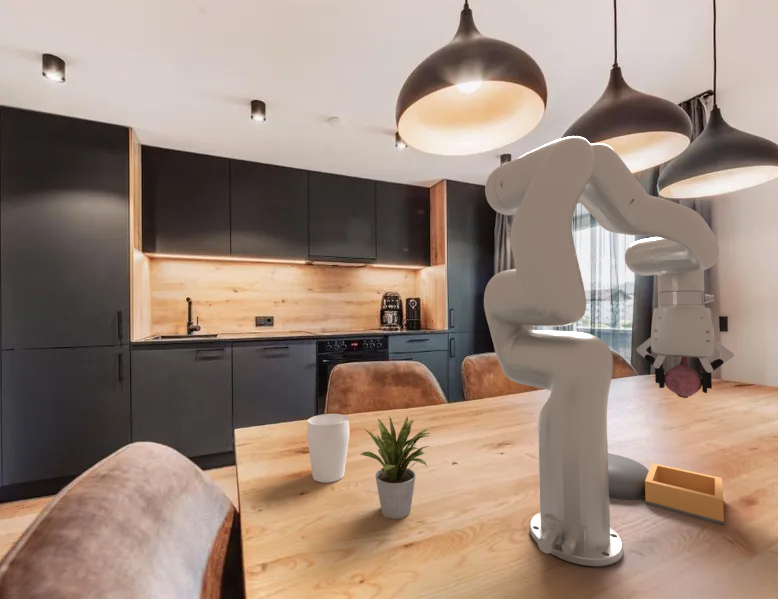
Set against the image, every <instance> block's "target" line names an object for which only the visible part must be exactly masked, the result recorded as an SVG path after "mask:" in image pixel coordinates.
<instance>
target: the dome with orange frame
mask: <svg viewBox="0 0 778 599" xmlns="http://www.w3.org/2000/svg"><path fill="white" fill-rule="evenodd" d="M608 475H609V498H612V497H613V499H618V498H619V500H620V499H621V500H638V498H639V499H643V498H645V504H647V505H649V506H654V507H657V508H661V509H664V510H668V511H672V512H675V513H678V514H682V515H686V516H690V517H693V518H696V519H697V518H698V519H701V520H704V521H708V522H711V523H715V524H719V525H722V526H725V517H724V516H725V513H724V512H725V511H724V494H723V493H724V491H723V477H720V476H716V475H710V474H706V473H700V472H697V471H691V470H687V469H683V468H678V467H674V466H673V467H672V466H668V465H663V464H659V463H654V462H651V465H650V467H649V469H648V468H647V467H646V466H645V465H644V464H642V463H640V462H638V461H636V460H633V459H631V458H629V457H625V456H622V455H619V454H613V453H609V452H608Z"/></svg>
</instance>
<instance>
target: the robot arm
mask: <svg viewBox="0 0 778 599" xmlns="http://www.w3.org/2000/svg"><path fill="white" fill-rule="evenodd" d="M484 186H485V187H484V192H485V197H486V201H487V203H488V204H489V206H490V207H491V208H492V209H493V210H494V211H495V212H497V213H498V214H501V215H504V216H514V217H513V221H512V223H511V227H510V228H511V229H510V246H511V250H512V256H513V262H514V266H515V267H514V268H511V269H507V270H503V271H500V272H498V273H495V275H493V276H492V277H491V279H489V281H488V282H487V284H486V287H485V289H484V295H483V308H484V309H483V310H484V313H485V317H486V322H487V325H488V328H489V332H490V337H491V340H492V343H493V348H494V352H495V354H496V358H497V360H498V364H499V366H500V369H501V370H502V373H503V374H504V375H505V376H506V377H507V378H508V379H509V380H511V381H513V382H514V383H517V384H520V385H524V386H529V387H533V388H539V389H543V390H547V391H550V395H549V396H548V399H547V400H546V402H545V403H544V405H543V406H542V408H541V409H540V411H539V415H538V421H537V428H538V429H537V432H538V433H537V434H538V457H539V458H538V463H539V464H538V466H539V467H538V468H539V470H538V471H539V473H538V474H539V504H540V505H539V508H540V511H539V512H538V513H536V514H535V515H533V517H532V518H531V519H530V522H529V530H530V535H531V537H532V538H533V540H534V541H535V543H537V546H538V548H539V550H540V551H541V552H542V553H545V554H551V555H553V556H555V557H557V558H559V559H561V560H564V561H566V562H568V563H572V564H576V565H582V566H586V567H588V566H589V567H606V566H609V565H613V564H615V563H617V562H619V561H620V560H621V559H622V557H623V555H624V544H623V540H622V539H621V537H620V535H619V534H618V533H617V532H616V531H615V530H614V529H612V527H611V517H610V510H611V509H610V497H609V475H608V453H609V451H608V450H609V445H608V444H609V442H608V404H609V403H608V402H609V395H610V394H609V393H610V388H611V384H612V383H611V382H612V378H613V371H614V357H613V353H612V350H611V348H610V346H609V345H608V344H607V343H606V342H605V341H604V340H602V339H601V338H599V337H598V336H596V335H593V334H591V333H586V332H582V331H581V332H580V331H574V330H573V331H571V330H570V331H569V330H552V329H551V330H540V329H539V330H538V329H535V327H565V326H570V325H573V324H575V323H578V322H579V321H581V320H582V318H583V317H584V316H585V313H586V311H587V298H586V291H585V285H584V282H583V277H582V276H583V275H582V272H581V269H580V263H579V260H578V255H577V252H576V246H575V241H574V236H573V219H574V213H575V211H576V208H577V204H578V202H579V203H580V204H581V205H582V206H583V207H584V208H585V209H586V210H587V212H588V213H590V216H592V217H593V218H594V219H595V220H596V221H597V222H598V223H599V225H600V226H601V228H603V229H604V230H606V231H608V232H611V233H615V234H620V235H621V234H622V235H628V236H638V237H639V236H640V237H648V238H642V239H639V240H636V241H634V242H632V243H631V244H630V245H629V246H628V247H627V249H626V250H625V254H624V261H625V264H626V268H627V267H628V269H629V270H630V272H632V273H634V274H636V275H639V276H644V277H645V276H646V277H647V276H657V307H654V310H653V313H652V319H651V320H652V321H651V332H650V337H649V338H648V339H646V340H645V341H644V342H643V343H641V344H640V345H639V346H637V348H636V349H635V351H636V352H637V354H639V355H640V356H641V357H643V358H644V359H645V360H646V361H647V362H648V363H649V364H650V365H651V366H653V368H654V372H655V375H654V377H655V382H654V383H655V384H658V385H659V386H658V387H659V388H660V389H664V388H665V387H666V385H665V382H664V375H665V373H666V372H665V368H664V365H663V363H664V361H665V359H666V357H679V358H680V357H681V358H682V357H687V358H695V359H697V358H698V359H699V362H700V363H701V366H702V367H703V368H702V371H701V378H702V387H701V390H702V392H703V393H704V394H707V393H708V389H710V390H711V389H712V388H713V387H712V382H713V380H712V373H713V372H714V371H715V370H716V369H718V368H720V367H721V366H722V365H724V364H725V363H727V362H728V361H730V359H733V358H734V356H735V354H734V352H732V351H731V350H729V349H728V348H727V347H725V346H724V345H723V344H721V343H720V342H719V341H718V340H716V338H715V330H714V323H713V321H714V320H713V316H712V312H711V309H710V307H706V306H705V304H707V303H712V302H713V303H714V302H715V295H714V294H707V293H705V271H706V270H709V269H710V268H711V267H713V266H714V265H715V264H716V262H717V261H718V259H719V256H720V247H719V242H718V239H717V238H716V235H715V234H714V233H713V231H712V229H711V227H710V226H709V225H708V223H707V221H706V220H705V219H704V218H703V216H701V213H698V212H697V211H696V210H694V209H692V208H690V207H688V206H686V205H684V204H680V203H677V202H675V201H672V200H669V199H666V198H661V197H658V196H653V195H651V194H648V192H646V190H645V188H644V187H643V186H642V184H641V183H640V182H639V181H638V179H637V178H636V177H635V175H634V174H633V173H632V171H631V170H630V168H628V166H627V165H626V163H625V162H624V161H623V160H622V159H621V157H620V156H619V154H618V153H617V152H616V151H615V150H614V148H612V147H611V146H610V145H609V144H606V143H601V142H600V143H599V142H595V143H590V142H589V141H588V139H586V138H585V137H582V136H578V135H576V136H575V135H571V136H566V137H563V138H559V139H555V140H553V141H551V142H548V143H546V144H544V145H542V146H540V147H537V148H535V149H533V150H531V151H529V152H526V153H525V154H522V156H519V157H517V158H514V159H512V160H510V161H508V162H506V163H503V164H501V165H500V166H498V167H496V168H495V169H494V170H493V171H492V172H491V173H490V174H489V175H488V178H487V179H486V183H485V185H484ZM649 347H650V349H651V352H652V353H653V354H654V355H657V356H656V358H655V357H654V355H652V354H650V353H649V352H648V351H647V349H648V348H649ZM715 350H717V351H718V352H719V353H720V354H721V355H720V356H718V357H717V358H715V359H714V360H713V361H711V362H710V360H709V358H711V357H713V356H714V355H715Z"/></svg>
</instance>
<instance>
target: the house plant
mask: <svg viewBox="0 0 778 599" xmlns="http://www.w3.org/2000/svg"><path fill="white" fill-rule="evenodd" d="M388 420H389V425H390V426H389V428H390V432H389V430H388V429H387V427H386V426H385V424H384V423H383V422H382V420H381V419H379V418H377V422H378V427H379V428H378V429H379V432H380V436H379V435H378V434H376V435H374V434H373V433H372V432H371V431H370V430H367V429H365V428H364V430H365V431H366V432H367V433H368V434H369V435H370V437H371V440H372V441H373V442H374V443H375V445H376V446H377V447H378V449H377V450H378V454H379V455H380V457H379V455H377V454H376V453H374V452H371V451H362V452H361V453H360V454H359V455H361V456H364V457H368V458H372V459H375V460H377V461H378V462H379V463H380V464H381V465H382V468H380V469H378V470H377V471H376V473H375V480H376V487H377V492H378V498H379V499H378V500H379V504H380V510H381V513H382V515H383V516H384V517H386V518H389V519H395V520H396V519H398V520H399V519H403V518H406V517H407V516H409V515H410V513H411V510H412V502H413V495H414V489H415V481H416V472H415V471H414V470H412V469H411V468H412V467H413V466H414V465H415V464H416V463H417V462H418V463H420V464H422V465H425V467H426V468H427V469H429V468H428V465H427V462H426V461H425V460H424V459H422V458H418V457H419V456H421V455H425V454H426V455H427V453H425V452H423V451H422V450H424V449H426V448H429V447H430V445H427V446H426V445H425V446H422V447H420V448H418V447H417V444H416V443H417V442H418V441H419V440H420V439H422V438H427V437H430V436H431V435H430V432H427V431H428V430H432V429H435V428H436V426H432V427H429V428H425V429H423V430H421V431H419V432H418V433H416V435H414V436H413V437H412V438H410V439H408V437H409V436H410V433H411V428H412V424H413V423H414V419H412V420H410V421H409V416H408V415H407V416H406V418H405V420H404V422H403V425H402V426H401V428H400V431H399V433H398V436H397V434H396V433H397V432H396V429H395V427H394V423H393V420H392V418H391V417H390V415H389V418H388ZM428 434H429V435H428ZM413 450H415V451H413ZM412 451H413V452H412ZM410 452H412V453H410ZM381 458H382V459H381ZM411 462H414V463H413V464H412V465H411V466H410V467H409V468H408V466H409V465H410V463H411Z"/></svg>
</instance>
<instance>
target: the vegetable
mask: <svg viewBox="0 0 778 599" xmlns="http://www.w3.org/2000/svg"><path fill="white" fill-rule="evenodd" d="M688 362H689V361H688V357H681V359H680V361H679V364H677V365H676V366H673V367H672V368H669V369H668V370H667V371H666V372H664V373H665V375H664V382H665V387H667V389H668V390H670V391H671V392H673V393H674V394H675V395H677V397H679V398H681V399H684V400H686V399H688V398H690V397H692V396H693V395H695V394H697V393H698V391H700V390H701V389H702V375H700V374H699V372H698V371H696V369H693V367H690V366H689V365H688V364H689V363H688Z"/></svg>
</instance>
